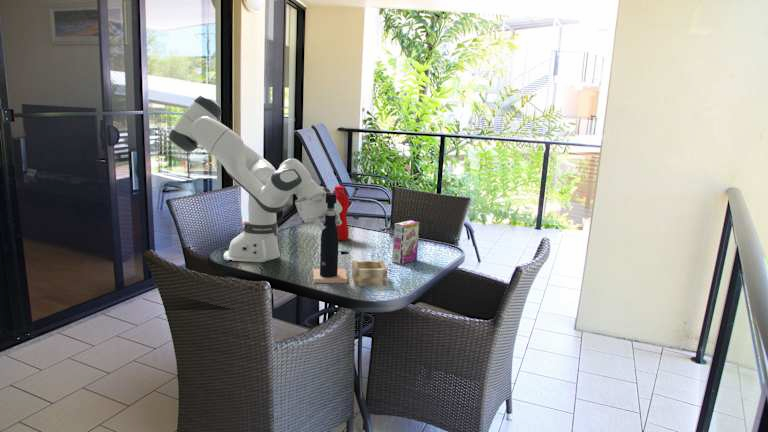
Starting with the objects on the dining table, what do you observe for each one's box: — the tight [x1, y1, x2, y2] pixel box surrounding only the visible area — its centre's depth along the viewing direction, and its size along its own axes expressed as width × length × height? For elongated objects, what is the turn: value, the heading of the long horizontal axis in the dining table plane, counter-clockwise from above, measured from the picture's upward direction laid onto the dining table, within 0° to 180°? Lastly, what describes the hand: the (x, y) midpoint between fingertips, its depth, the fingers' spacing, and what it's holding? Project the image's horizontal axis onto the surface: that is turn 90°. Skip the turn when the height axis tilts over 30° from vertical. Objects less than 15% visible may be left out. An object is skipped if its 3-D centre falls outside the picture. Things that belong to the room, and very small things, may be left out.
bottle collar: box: [351, 260, 388, 287], centre depth 210 cm, size 12×12×6 cm
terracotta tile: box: [312, 268, 348, 284], centre depth 213 cm, size 12×12×2 cm
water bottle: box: [332, 185, 350, 242], centre depth 267 cm, size 9×11×25 cm
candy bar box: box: [391, 220, 420, 265], centre depth 236 cm, size 11×5×16 cm, turn 141°
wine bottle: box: [319, 192, 340, 277], centre depth 208 cm, size 6×6×30 cm
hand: (332, 226), depth 208 cm, fingers open, 8 cm apart
